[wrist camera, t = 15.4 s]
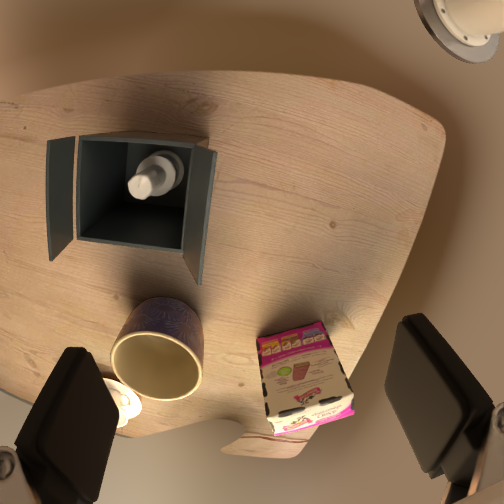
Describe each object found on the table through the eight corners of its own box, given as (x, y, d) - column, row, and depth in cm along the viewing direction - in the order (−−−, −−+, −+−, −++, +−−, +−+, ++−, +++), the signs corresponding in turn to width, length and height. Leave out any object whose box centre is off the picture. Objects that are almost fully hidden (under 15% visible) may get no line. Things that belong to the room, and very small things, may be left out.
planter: (223, 323, 49) (222, 372, 38) (173, 364, 51) (164, 412, 41) (162, 272, 45) (144, 313, 35) (115, 320, 47) (93, 364, 37)
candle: (155, 142, 38) (126, 149, 26) (191, 162, 39) (175, 176, 28) (137, 178, 39) (103, 199, 28) (171, 198, 40) (150, 225, 29)
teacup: (154, 401, 55) (150, 421, 50) (120, 420, 57) (114, 438, 52) (106, 364, 51) (98, 383, 46) (76, 387, 53) (67, 405, 48)
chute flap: (194, 144, 24) (198, 144, 24) (182, 256, 28) (185, 256, 28) (213, 151, 20) (217, 152, 20) (197, 285, 23) (201, 285, 24)
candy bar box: (262, 359, 52) (273, 438, 37) (254, 337, 50) (264, 417, 35) (327, 342, 51) (356, 416, 36) (323, 319, 49) (354, 393, 34)
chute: (209, 137, 38) (188, 147, 20) (199, 212, 42) (175, 280, 24) (123, 130, 37) (42, 139, 19) (117, 202, 40) (45, 261, 22)
